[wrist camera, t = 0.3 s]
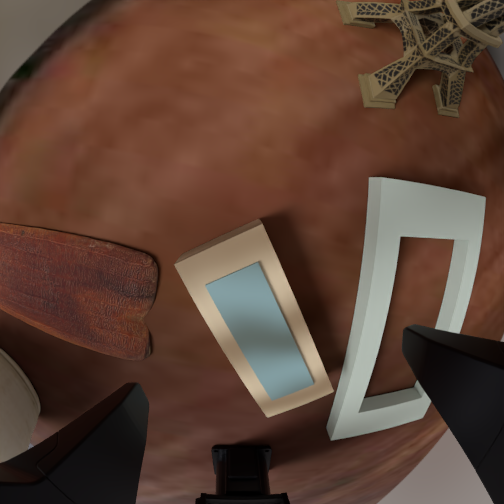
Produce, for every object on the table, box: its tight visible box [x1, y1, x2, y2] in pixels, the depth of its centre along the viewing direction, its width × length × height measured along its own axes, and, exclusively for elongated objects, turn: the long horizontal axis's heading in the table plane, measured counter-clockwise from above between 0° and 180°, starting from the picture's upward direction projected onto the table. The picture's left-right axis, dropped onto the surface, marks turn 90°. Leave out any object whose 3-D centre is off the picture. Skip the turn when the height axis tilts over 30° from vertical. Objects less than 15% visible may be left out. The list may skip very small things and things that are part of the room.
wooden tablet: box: [0, 223, 158, 361], centre depth 19 cm, size 27×10×2 cm, turn 79°
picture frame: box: [174, 219, 334, 417], centre depth 20 cm, size 15×6×3 cm, turn 24°
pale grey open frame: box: [326, 177, 486, 440], centre depth 21 cm, size 25×12×2 cm, turn 178°
